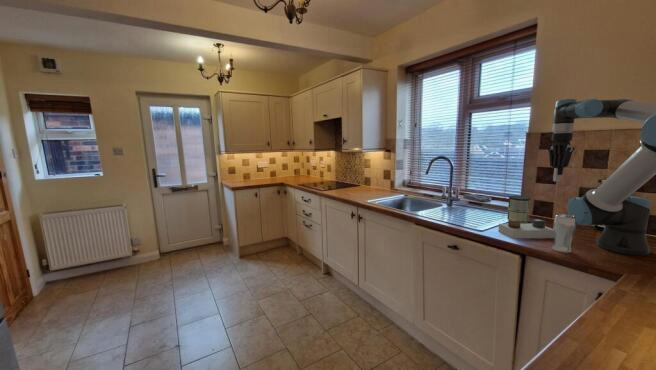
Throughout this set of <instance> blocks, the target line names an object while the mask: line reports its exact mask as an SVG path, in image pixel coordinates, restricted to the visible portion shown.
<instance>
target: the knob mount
mask: <svg viewBox="0 0 656 370" xmlns="http://www.w3.org/2000/svg"><path fill="white" fill-rule="evenodd" d="M498 232H499V233H501V234H504V235H505V236H507V237H510V238H511V239H554V230H553V228H551V227H548V226H546V225H545V228H538V227H534V226H532V222H530V223H521V224H520V228H513V227H509V226H508V223H498Z"/></svg>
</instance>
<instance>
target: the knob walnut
mask: <svg viewBox="0 0 656 370" xmlns="http://www.w3.org/2000/svg"><path fill="white" fill-rule="evenodd" d="M507 224H508V226H509V227H513V228H520V224H522V223H521V221H519V220H515V219H509V220H507Z"/></svg>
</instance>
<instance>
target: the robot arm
mask: <svg viewBox="0 0 656 370" xmlns="http://www.w3.org/2000/svg"><path fill="white" fill-rule="evenodd" d="M597 118H598V119H601V118H603V119H605V118H611V119H617V120H622V121H627V122H628V121H629V122H635V123H640V124H642V125H641V128H640V129H641V130H642V131H640V132H639V133H640V139H639V143H640V146H639V147H637V149H636V150H635V151H634V152H633V153H631V154H630V156H629V157H627V159H626V160H624V162H623V163H622V164H621V165H620V166H618V168H616V170H615V171H614V172H612V174H610V176H608V177H607V179H605V180H604V181H603V182H602V183H601V184H600V185H599V186H598V187H597V188H594V189H593V188H591V189H589V190H588V191H587V192H586V193H585V194H583V195H582V196H581V197H579V196H576V197H573V198H571V199H569V201H568V203H567V207H566V208H567V213H568V214H567V215H572V216H575V217H576V225H582V226H604V228H603V230H602V232H601V233H600V235H599V237H598V238H597V239H596V245H597V246H598V247H599V248H602V249H604V250H607V251H611V252H613V253H619V254H623V255H629V256H639V257H640V256H641V257H642V256H643V257H644V256H649V255H650V252H651V247H650V246H649V243H648V238H647V235H646V234H647V230H648V229H647V228H648V223H649V218H650V212H651V210H652V209H651V201H650V200H649V199H648V198H645V197H640V196H634V195H633V194H634V193H635V192H636V191H637V190H639V189H640V188H641V187H642V186H643V185H645V184H646V183H647V182H649V180H651V179H652V178H653V177H654V176H655V175H656V103H652V102H643V101H634V100H633V99H625V98H622V99H621V98H620V99H597V98H591V99H589V98H587V99H584V100H580V101H578V100H577V99H575V98H565V99H559V100H557V101H556V102H555V107H554V112H553V124H552V134H551V142H552V144H551V145H552V146H548V147H547V151H548V157H549V165H550V167H552V168H553V171H552V172H553V173H552V174H553V176H552V182H562V175H563V172H564V169H565V168H568V166H569V164H570V160H571V158H572V155H573V153H574V152H575V149H576V148H575V147H572V146H571V141H572V140H573V137H574V136H573V135H574V134H573V131H574V125H575V120H577V119H597Z"/></svg>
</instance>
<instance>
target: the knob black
mask: <svg viewBox="0 0 656 370" xmlns="http://www.w3.org/2000/svg"><path fill="white" fill-rule="evenodd" d="M531 223H532V226H534V227H538V228H545V226H546V220H544V219H538V218H533V219H532V222H531Z"/></svg>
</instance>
